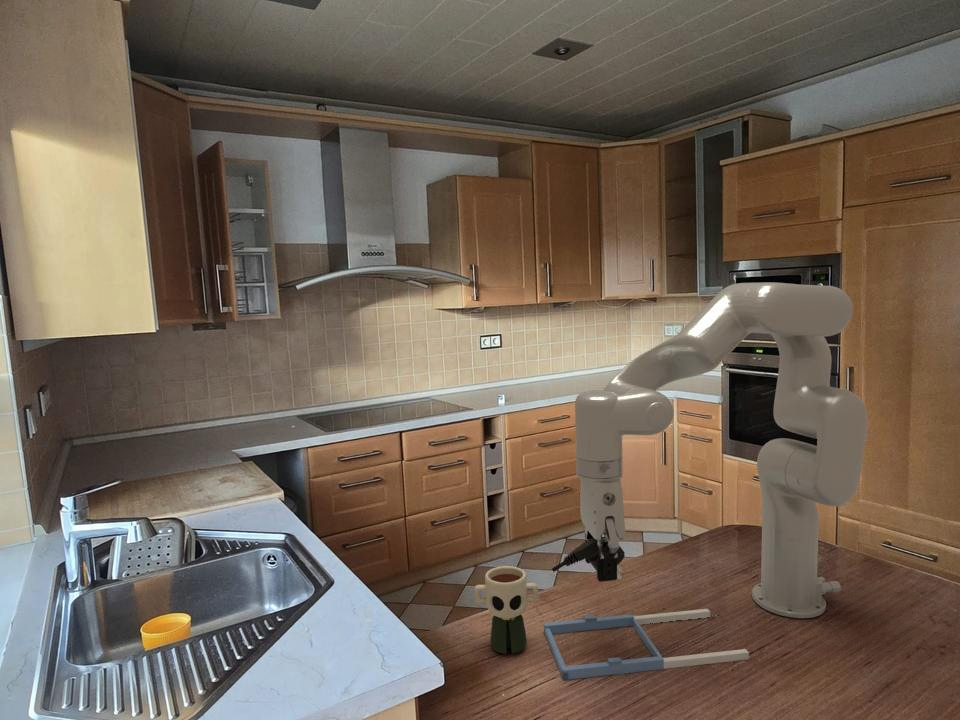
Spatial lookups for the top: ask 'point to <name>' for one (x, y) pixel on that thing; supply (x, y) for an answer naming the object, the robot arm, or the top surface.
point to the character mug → (507, 606)
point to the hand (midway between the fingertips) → (600, 569)
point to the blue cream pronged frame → (647, 663)
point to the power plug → (589, 555)
